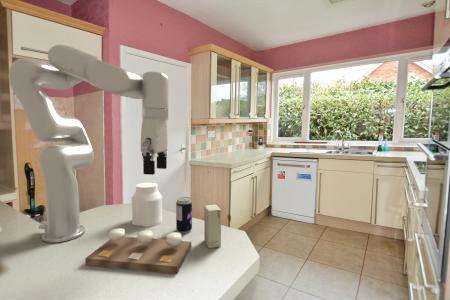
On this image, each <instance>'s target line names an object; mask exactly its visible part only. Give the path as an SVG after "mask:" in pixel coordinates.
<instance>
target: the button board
mask: <svg viewBox="0 0 450 300" xmlns="http://www.w3.org/2000/svg"><path fill="white" fill-rule="evenodd" d="M191 249H192V241H186V240H181V243H180V244H178V245H174V246H171V245H168V244H167V243H166V239H161V238H153V240H152V241H151V242H148V243H139V242H138V241H137V237H135V236H134V237H133V236H125V238H124V239H122V240H118V241H111V240H110V239H108V240H107V241H106V242H105V243H103V244H102V245H101V246H100V247H98V248H97V249H95V250H94V251H93V252H92V253H90V254H89V255H88V256H86V257H85V266H90V267H91V266H92V267H101V268H113V269H119V270H120V269H121V270H132V271H144V272H145V271H146V272H153V273H163V274H175V275H178V273H179V271H180V269H181V268H182V266H183V264H184V263H185V261H186V258H187V257H188V255H189V253H190V252H191Z"/></svg>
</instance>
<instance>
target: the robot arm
mask: <svg viewBox="0 0 450 300" xmlns="http://www.w3.org/2000/svg"><path fill="white" fill-rule="evenodd" d="M47 59H48V62H45V61H42V60H38V59H34V58H30V57H29V58H27V57H26V58H25V57H24V58H19V59H16V60H14V61H13V62H12V63H11V64H10V67H9V71H8V80H9V85H10V88H11V90H12V91H13V94H14V95H15V97H16V98H17V100H18V101H19V103H20V105H21V107H22V109H23V111H24V114H25V116H26V118H27V121H28V123H29V126H30V129H31V130H32V133H33V134H34V136H35V138H36V139H37V140H38V141H39V142H42V143H56V144H52V145H51V144H50V145H48V146H47V147H44V148H43V149H42V150H41V152H40V153H39V156H38V160H39V166H40V169H41V172H42V177H43V181H44V182H43V183H44V195H45V197H44V198H45V211H46V220H43V221H42V222H41V223H40V224H39V225H38V229H40V230H44V233H43V234H41V240H42V241H43V242H44V243H63V242H67V241H72V240H74V239H76V238H78V237H81V236H82V235H83V234H85V232H86V227H85V226H84V225H82V224H81V219H80V217H81V216H80V214H81V213H80V196H79V195H80V193H79V183H78V180H77V177H76V176H75V174H74V172H73V171H75V170H79V169H84V168H87V167H90V166H91V165H92V164H93V162H94V161H95V152H94V149H93V146H92V144H91V141H90V139H89V136H88V135H87V131H86V129H85V127H84V125H83V123H82V122H81V120H79V119H78V118H76V117H75V116H72V115H64V114H60V113H58V110H56V106H55V104H54V102H53V101H52V99H51V97H50V96H49V95H48V94H47V93H45V91H44V90H42V88H45V89H51V90H55V91H57V90H58V91H64V90H68V89H70V88H72V87H74V86H76V85H78V84H80V83H81V82H86V83H88V84H89V85H91V86H93V87H95V88H97V89H100V90H102V91H105V92H108V93H109V94H113V95H115V96H119V97H125V98H130V99H133V100H135V99H136V100H141V101H142V102H141V106H142V108H141V109H142V110H141V112H142V115H141V116H142V117H141V118H142V122H141V130H140V152H141V157H142V161H143V163H142V166H143V168H142V169H143V173H142V174H143V175H150V176H151V175H152V176H153V175H155V172H156V169H158V170H159V169H161V170H162V169H163V170H165V169H167V168H168V167H167V166H168V165H167V164H168V163H167V159H168V158H167V157H168V153H167V151H168V125H167V121H169V77H168V76H167V74H165V73H163V72H159V71H146V72H144V73H143V74H142V75H141V74H139V73H135V72H133V71H130V70H127V69H126V68H122V67H119V66H117V65H114V64H111V63H110V62H109V63H108V62H106V61H103V59H101V58H100V57H99V56H97V55H93V54H91V53H88V52H85V51H82V50H80V49H79V48H78V49H77V48H75V47H72V46H69V45H66V44H57V45H56V44H55V45H53V46H51V47H50V48H49V50H48V51H47ZM61 142H62V143H61ZM63 142H64V143H63ZM156 154H157V155H156ZM155 155H156V162H155V160H154V158H155ZM155 163H156V165H155Z"/></svg>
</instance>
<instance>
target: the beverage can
mask: <svg viewBox="0 0 450 300" xmlns="http://www.w3.org/2000/svg"><path fill="white" fill-rule="evenodd" d="M175 204H176V205H175V210H176V211H175V214H176V215H175V217H176V219H175V220H176V221H175V229H176V231H177V232H178V233H180V234H186V233H189V232H190V231H191V230H192V229H193V201H192V198H191V197H188V196H181V197H178V198H177V200H176V202H175Z"/></svg>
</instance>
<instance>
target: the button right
mask: <svg viewBox="0 0 450 300" xmlns="http://www.w3.org/2000/svg"><path fill="white" fill-rule="evenodd" d="M165 237H166V239H165V240H166V243H167V244H168V245H171V246H174V245H178V244H180V243H181V241H182V233H180V232H178V231H176V232H175V231H174V232H169V233H168V234H166V236H165Z"/></svg>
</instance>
